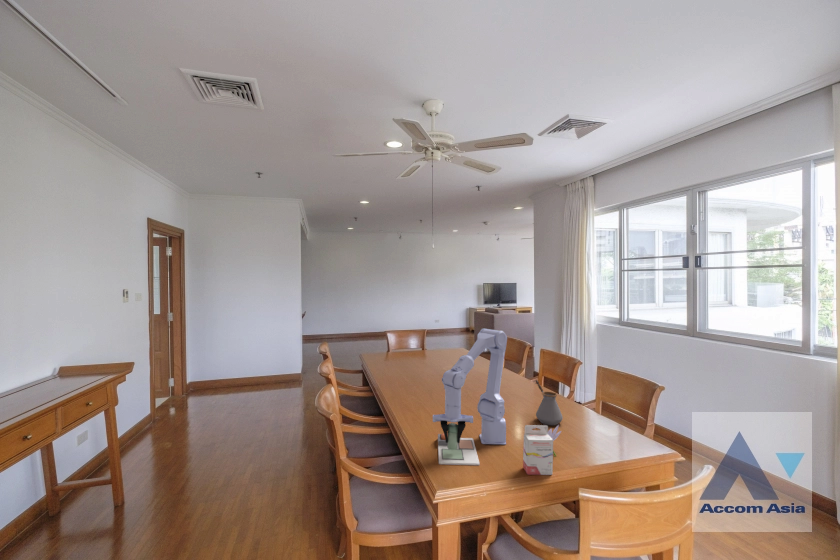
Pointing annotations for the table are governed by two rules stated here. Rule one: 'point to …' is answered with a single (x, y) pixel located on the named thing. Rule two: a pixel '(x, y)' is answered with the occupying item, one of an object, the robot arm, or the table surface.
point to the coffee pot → (548, 408)
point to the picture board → (458, 452)
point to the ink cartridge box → (537, 450)
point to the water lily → (554, 435)
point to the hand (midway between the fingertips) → (452, 441)
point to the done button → (443, 436)
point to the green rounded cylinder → (452, 436)
